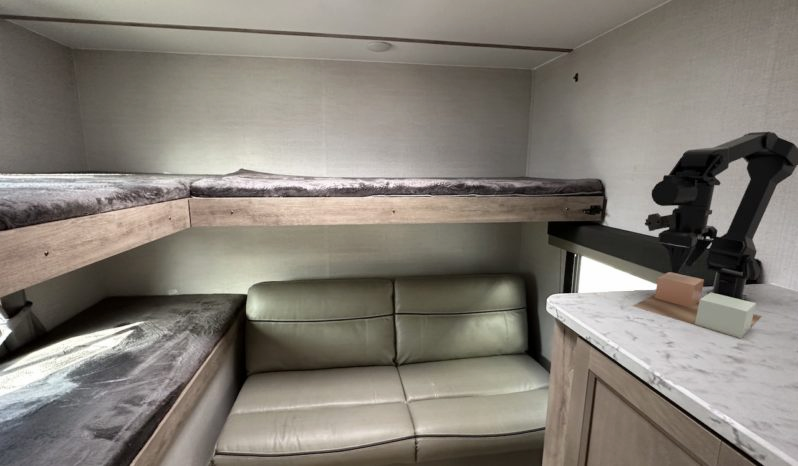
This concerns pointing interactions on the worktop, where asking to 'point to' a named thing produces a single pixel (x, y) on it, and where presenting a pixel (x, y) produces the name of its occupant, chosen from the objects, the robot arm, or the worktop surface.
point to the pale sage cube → (725, 314)
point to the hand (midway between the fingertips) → (682, 269)
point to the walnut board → (678, 311)
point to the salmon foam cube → (679, 289)
